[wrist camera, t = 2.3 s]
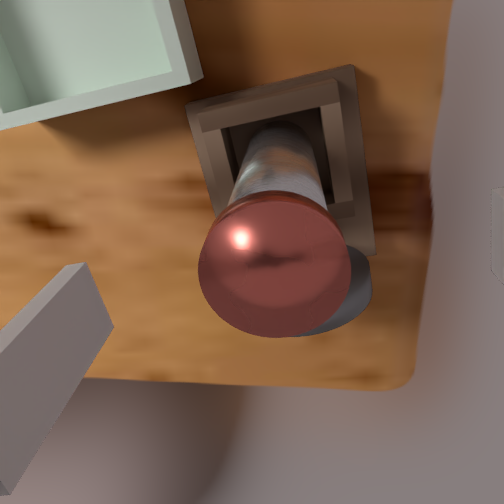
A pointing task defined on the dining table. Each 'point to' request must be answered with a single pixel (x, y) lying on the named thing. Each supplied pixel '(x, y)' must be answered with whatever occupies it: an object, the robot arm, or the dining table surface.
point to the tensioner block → (325, 151)
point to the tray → (89, 54)
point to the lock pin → (276, 242)
